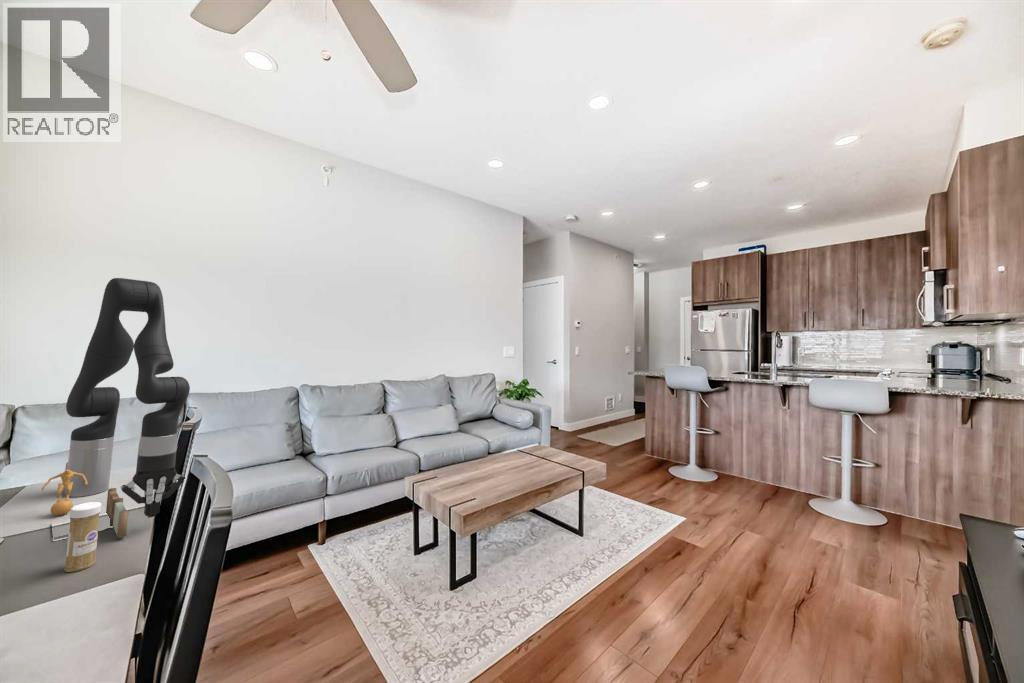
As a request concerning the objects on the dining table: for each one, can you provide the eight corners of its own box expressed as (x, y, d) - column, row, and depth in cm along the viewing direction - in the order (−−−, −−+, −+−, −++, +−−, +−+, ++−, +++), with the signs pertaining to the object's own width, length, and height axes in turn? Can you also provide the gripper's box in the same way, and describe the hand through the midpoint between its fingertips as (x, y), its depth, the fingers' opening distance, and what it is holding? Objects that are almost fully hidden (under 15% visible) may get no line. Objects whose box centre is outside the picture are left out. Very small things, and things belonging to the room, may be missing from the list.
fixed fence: (104, 513, 104) (106, 489, 104) (114, 510, 106) (117, 487, 106) (110, 527, 97) (112, 501, 97) (121, 524, 99) (123, 499, 99)
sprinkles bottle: (83, 572, 79) (89, 509, 80) (56, 573, 78) (63, 510, 79) (101, 560, 84) (107, 500, 84) (76, 561, 83) (83, 501, 83)
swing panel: (111, 526, 97) (114, 502, 97) (120, 524, 98) (122, 500, 99) (117, 539, 92) (119, 513, 92) (126, 536, 93) (129, 511, 93)
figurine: (35, 521, 98) (40, 476, 98) (41, 513, 102) (46, 469, 103) (82, 513, 103) (87, 470, 104) (86, 506, 108) (90, 465, 108)
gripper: (186, 444, 106) (180, 504, 106) (119, 452, 96) (113, 519, 95) (193, 449, 102) (187, 512, 101) (124, 458, 91) (117, 529, 91)
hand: (151, 516), depth 98 cm, fingers closed
